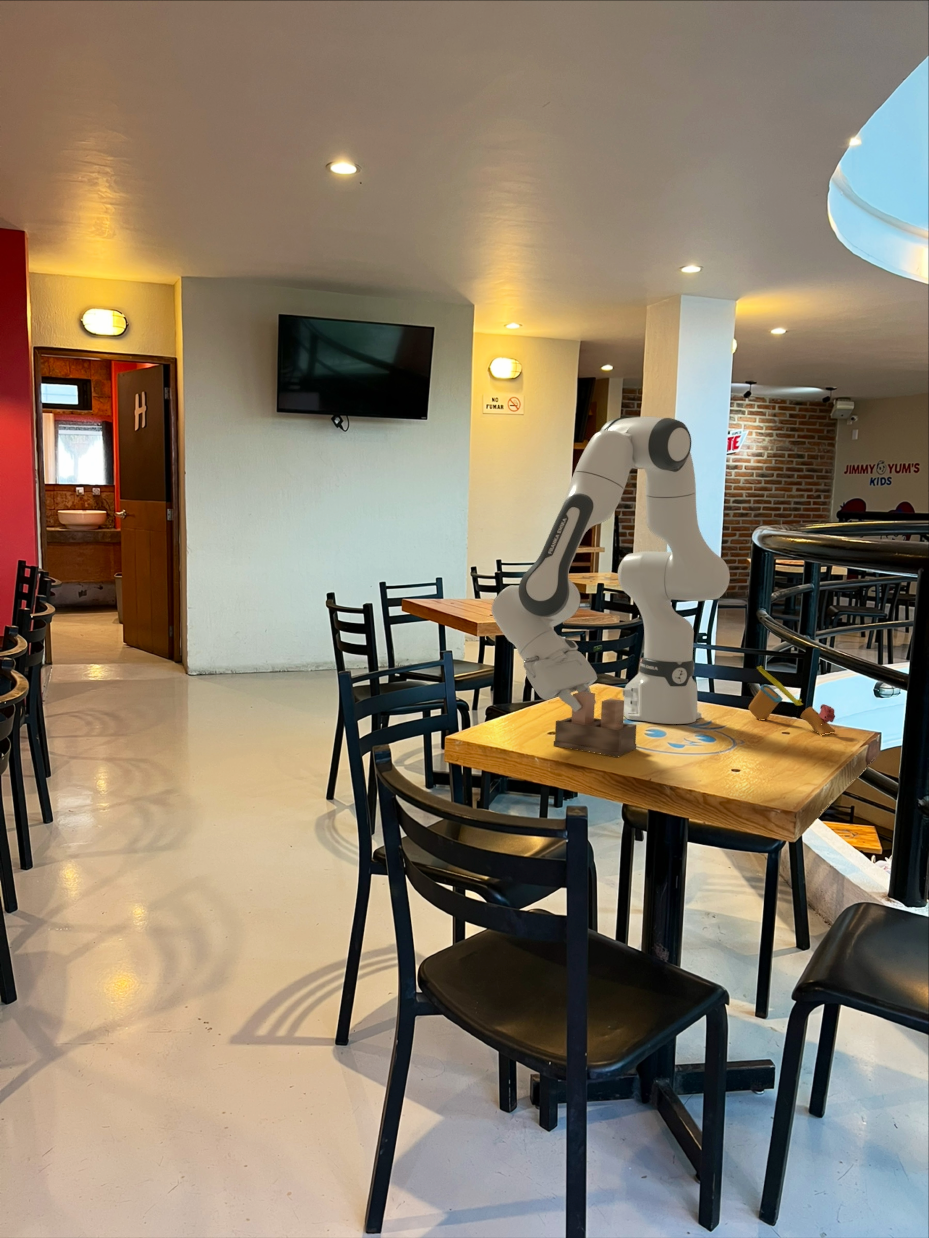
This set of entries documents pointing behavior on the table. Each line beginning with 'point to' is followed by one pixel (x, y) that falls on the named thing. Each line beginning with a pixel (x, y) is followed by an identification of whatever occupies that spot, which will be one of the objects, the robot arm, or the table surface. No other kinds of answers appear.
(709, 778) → the table surface
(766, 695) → the toy
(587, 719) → the pink rectangular block
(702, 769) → the table surface
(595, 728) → the box
